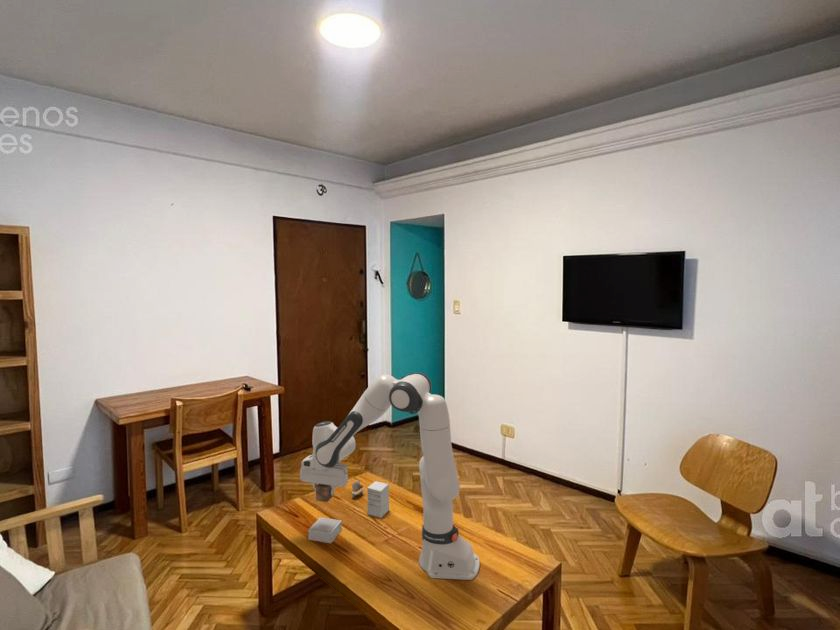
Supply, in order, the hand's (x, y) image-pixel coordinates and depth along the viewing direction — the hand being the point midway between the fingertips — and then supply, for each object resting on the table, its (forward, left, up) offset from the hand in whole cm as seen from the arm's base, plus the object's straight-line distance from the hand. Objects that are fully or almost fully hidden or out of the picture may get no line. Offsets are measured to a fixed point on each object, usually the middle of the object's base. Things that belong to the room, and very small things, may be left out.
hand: (324, 493), depth 184 cm
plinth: (0, 0, -18) cm, 18 cm away
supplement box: (-15, -22, -18) cm, 32 cm away
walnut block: (0, 0, -2) cm, 2 cm away
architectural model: (0, -34, -18) cm, 39 cm away
